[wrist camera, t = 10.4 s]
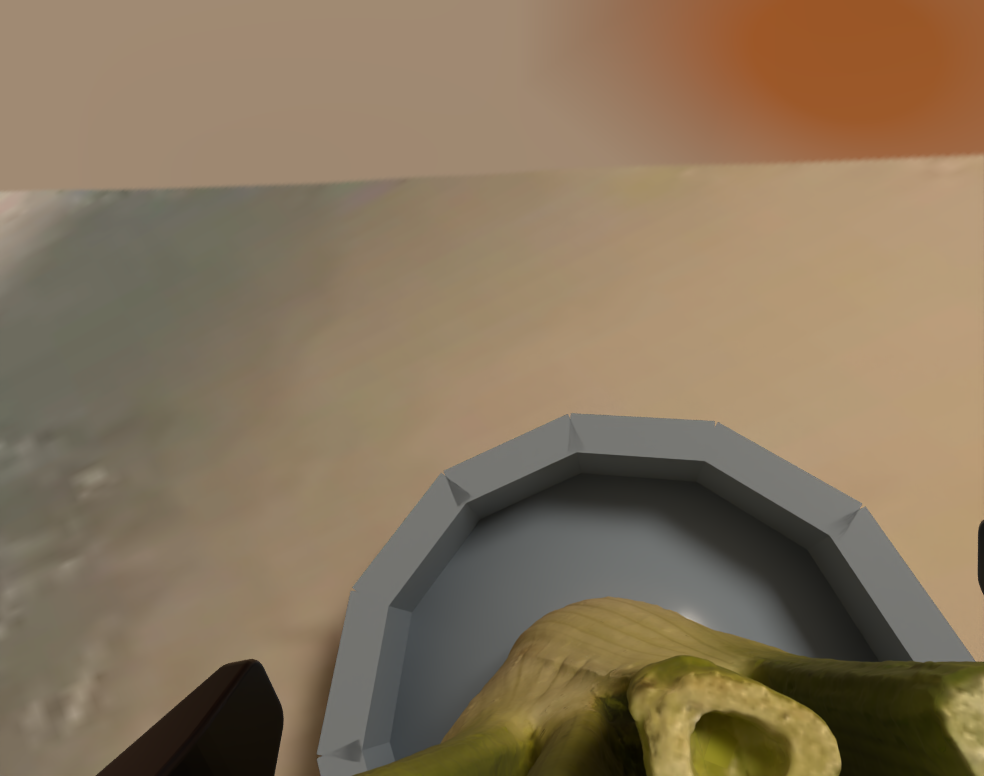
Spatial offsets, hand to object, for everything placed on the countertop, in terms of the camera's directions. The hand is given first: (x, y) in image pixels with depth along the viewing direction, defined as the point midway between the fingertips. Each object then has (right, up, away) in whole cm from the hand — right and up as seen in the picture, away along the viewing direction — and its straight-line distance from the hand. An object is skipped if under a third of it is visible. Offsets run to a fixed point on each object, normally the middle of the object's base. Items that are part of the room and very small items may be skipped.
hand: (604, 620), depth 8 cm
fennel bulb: (+2, -5, +7) cm, 9 cm away
